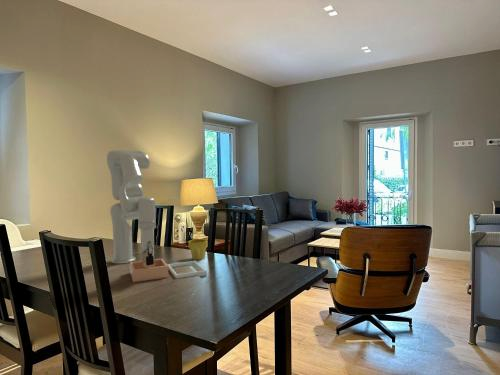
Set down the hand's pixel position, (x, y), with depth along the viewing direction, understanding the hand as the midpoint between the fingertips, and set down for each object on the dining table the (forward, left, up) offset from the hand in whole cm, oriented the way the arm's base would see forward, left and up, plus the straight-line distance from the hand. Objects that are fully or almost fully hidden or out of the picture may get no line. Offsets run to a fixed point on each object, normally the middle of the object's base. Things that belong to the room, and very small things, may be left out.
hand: (148, 262), depth 157 cm
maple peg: (0, 0, -6) cm, 6 cm away
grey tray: (+1, +17, -7) cm, 18 cm away
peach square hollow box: (0, 0, -7) cm, 7 cm away
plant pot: (-23, +30, -7) cm, 38 cm away
